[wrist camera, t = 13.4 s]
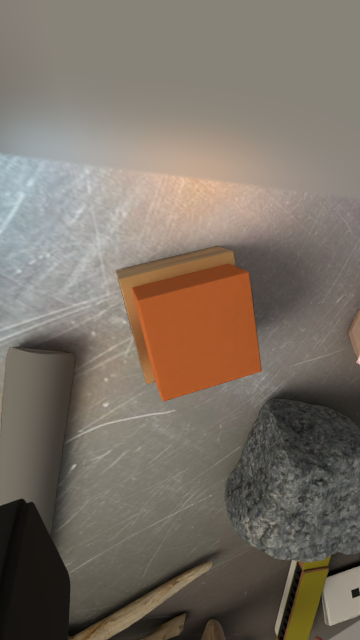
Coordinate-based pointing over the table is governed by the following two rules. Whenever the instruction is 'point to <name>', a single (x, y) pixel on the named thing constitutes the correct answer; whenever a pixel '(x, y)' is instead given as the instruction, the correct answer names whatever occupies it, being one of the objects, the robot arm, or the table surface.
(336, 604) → the laptop
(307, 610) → the harmonica
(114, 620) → the tool
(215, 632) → the figurine
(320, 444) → the stone
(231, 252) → the wooden square block
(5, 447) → the gray half cylinder
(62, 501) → the table surface
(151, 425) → the table surface
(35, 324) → the table surface
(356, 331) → the mouse figurine
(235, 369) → the terracotta pad
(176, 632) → the jawbone
